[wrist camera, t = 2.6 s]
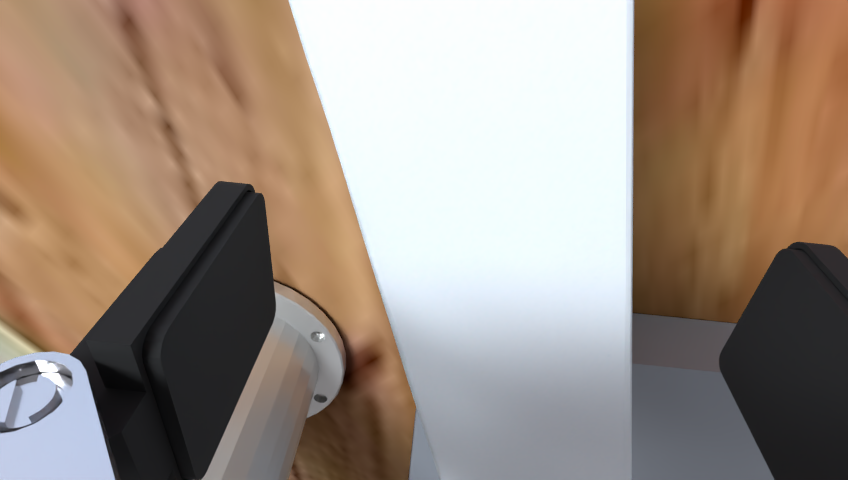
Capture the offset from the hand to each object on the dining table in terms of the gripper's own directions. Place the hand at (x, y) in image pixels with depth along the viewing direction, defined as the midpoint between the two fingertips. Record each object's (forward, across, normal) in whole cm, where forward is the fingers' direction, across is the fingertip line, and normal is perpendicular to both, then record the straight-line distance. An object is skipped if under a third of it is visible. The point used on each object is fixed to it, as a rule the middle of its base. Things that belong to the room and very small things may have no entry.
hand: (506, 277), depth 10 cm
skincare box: (+16, 0, +1) cm, 16 cm away
